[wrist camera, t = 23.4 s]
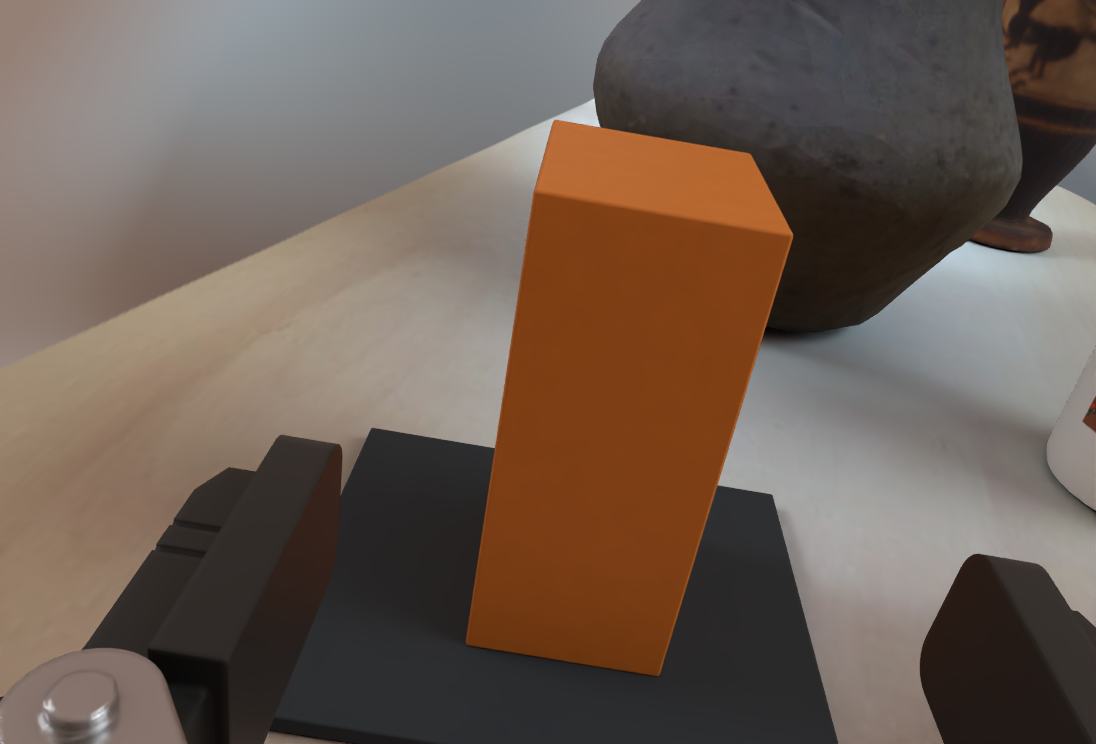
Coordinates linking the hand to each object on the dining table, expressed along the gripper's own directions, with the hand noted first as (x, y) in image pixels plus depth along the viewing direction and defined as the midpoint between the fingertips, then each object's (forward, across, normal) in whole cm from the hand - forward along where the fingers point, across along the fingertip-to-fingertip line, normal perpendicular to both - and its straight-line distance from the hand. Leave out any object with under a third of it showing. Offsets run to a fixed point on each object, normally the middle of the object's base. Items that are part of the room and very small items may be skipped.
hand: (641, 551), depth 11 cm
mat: (+10, 0, +10) cm, 15 cm away
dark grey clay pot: (+36, -9, +10) cm, 39 cm away
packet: (+10, 0, +10) cm, 14 cm away
